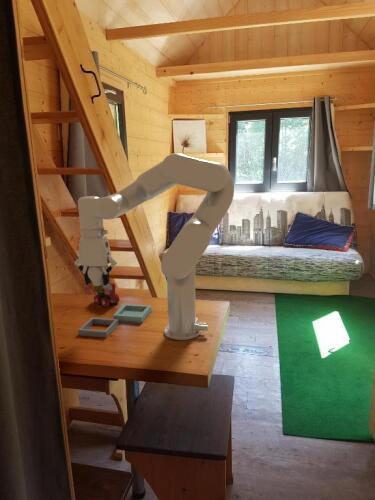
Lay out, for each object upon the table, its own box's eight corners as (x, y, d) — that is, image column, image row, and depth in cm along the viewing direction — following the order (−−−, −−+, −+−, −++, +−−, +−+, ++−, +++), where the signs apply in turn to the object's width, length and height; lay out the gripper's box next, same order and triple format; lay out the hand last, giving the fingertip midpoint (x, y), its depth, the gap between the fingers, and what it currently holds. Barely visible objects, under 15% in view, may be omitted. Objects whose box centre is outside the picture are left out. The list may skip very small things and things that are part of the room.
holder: (118, 324, 139) (118, 319, 138) (106, 337, 129) (106, 332, 128) (92, 322, 141) (91, 317, 141) (78, 335, 131) (78, 329, 131)
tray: (151, 311, 150) (151, 305, 149) (142, 323, 139) (141, 317, 138) (124, 309, 152) (124, 304, 151) (113, 321, 141) (113, 315, 141)
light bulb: (90, 295, 128) (87, 267, 126) (89, 290, 134) (86, 263, 131) (107, 293, 130) (105, 265, 128) (106, 288, 135) (103, 261, 133)
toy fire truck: (104, 297, 166) (102, 275, 163) (122, 304, 158) (120, 280, 155) (91, 302, 161) (89, 279, 158) (108, 309, 153) (106, 285, 150)
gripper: (120, 231, 129) (124, 281, 133) (74, 231, 132) (79, 279, 137) (112, 235, 122) (116, 288, 126) (63, 235, 125) (69, 286, 129)
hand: (97, 283), depth 131 cm, fingers closed on light bulb, 5 cm apart
